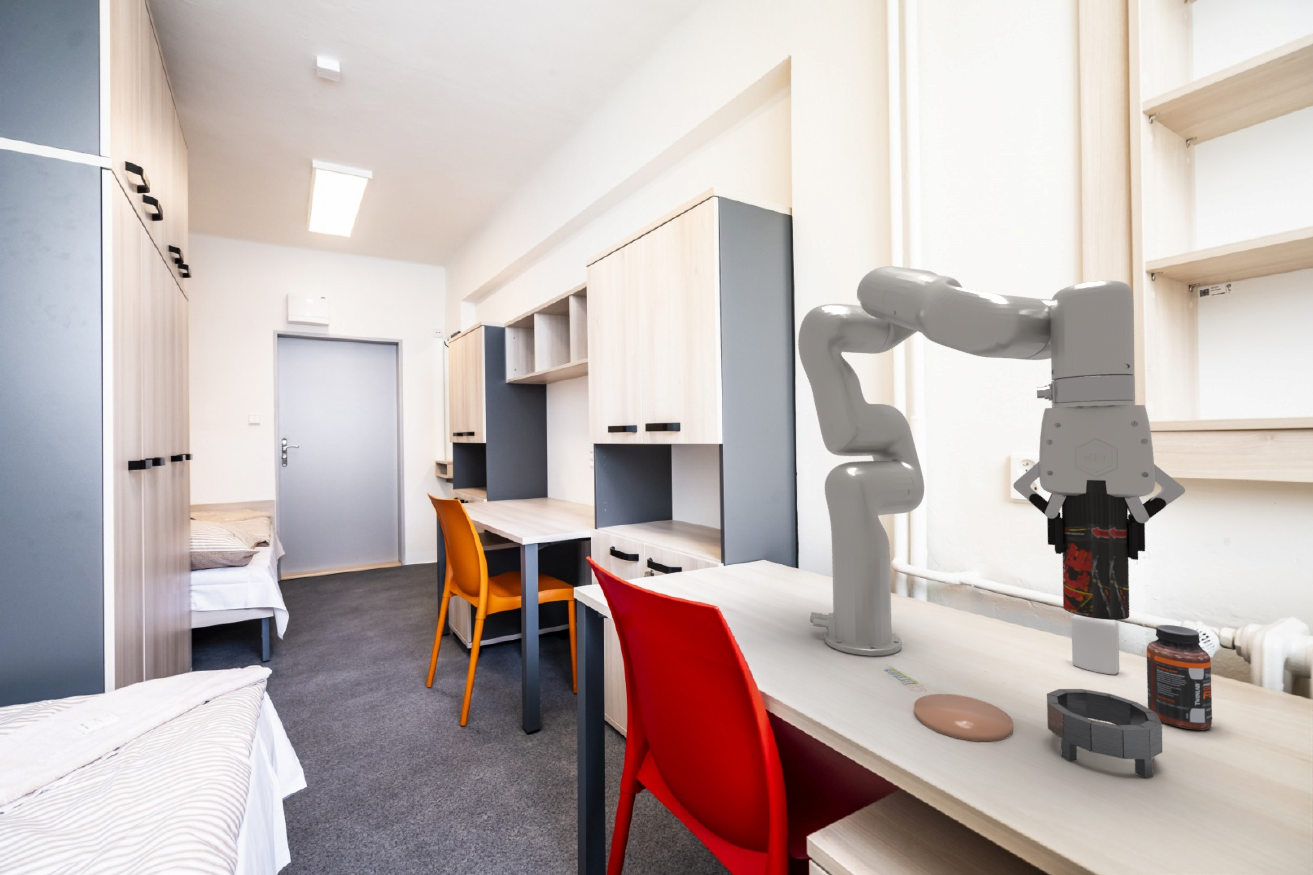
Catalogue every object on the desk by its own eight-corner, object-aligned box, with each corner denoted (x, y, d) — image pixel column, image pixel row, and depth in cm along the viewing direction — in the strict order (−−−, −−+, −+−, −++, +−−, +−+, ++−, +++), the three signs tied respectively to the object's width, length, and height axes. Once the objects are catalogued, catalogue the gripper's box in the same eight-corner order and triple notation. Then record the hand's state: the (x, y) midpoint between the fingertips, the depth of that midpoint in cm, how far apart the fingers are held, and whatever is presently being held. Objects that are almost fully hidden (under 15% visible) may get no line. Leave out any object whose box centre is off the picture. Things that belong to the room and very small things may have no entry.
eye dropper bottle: (1089, 660, 92) (1088, 584, 92) (1125, 674, 86) (1123, 593, 86) (1067, 663, 91) (1065, 586, 91) (1101, 677, 85) (1099, 595, 85)
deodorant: (1141, 621, 62) (1139, 480, 62) (1079, 618, 63) (1077, 480, 63) (1110, 605, 68) (1108, 476, 68) (1053, 603, 69) (1051, 476, 69)
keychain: (932, 688, 82) (913, 691, 81) (932, 692, 82) (913, 695, 81) (887, 661, 92) (870, 663, 91) (887, 665, 92) (870, 667, 91)
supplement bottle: (1219, 737, 68) (1216, 640, 68) (1152, 724, 71) (1150, 632, 71) (1205, 716, 73) (1202, 626, 73) (1144, 705, 76) (1141, 619, 76)
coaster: (907, 726, 71) (907, 720, 72) (920, 693, 81) (920, 687, 81) (1012, 750, 66) (1012, 743, 66) (1013, 711, 75) (1013, 705, 75)
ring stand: (1050, 761, 63) (1049, 715, 63) (1046, 723, 72) (1045, 682, 72) (1170, 788, 58) (1169, 738, 58) (1151, 744, 67) (1150, 700, 67)
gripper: (1002, 396, 67) (1004, 553, 67) (1203, 388, 58) (1206, 569, 58) (1003, 400, 73) (1005, 543, 73) (1185, 392, 64) (1188, 556, 64)
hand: (1094, 553), depth 65 cm, fingers closed on deodorant, 6 cm apart
